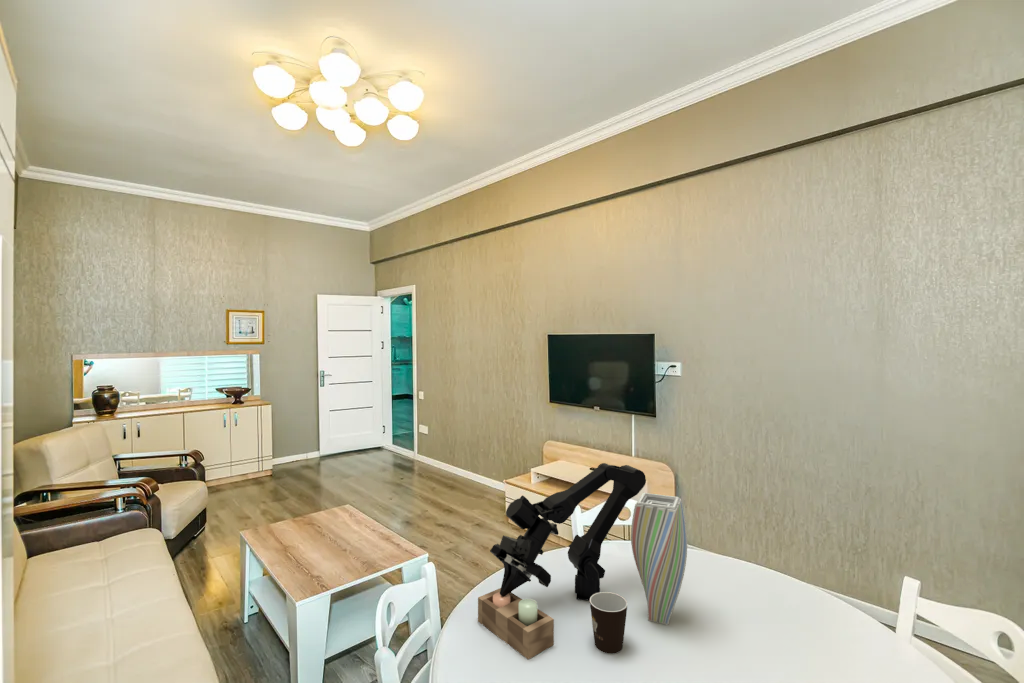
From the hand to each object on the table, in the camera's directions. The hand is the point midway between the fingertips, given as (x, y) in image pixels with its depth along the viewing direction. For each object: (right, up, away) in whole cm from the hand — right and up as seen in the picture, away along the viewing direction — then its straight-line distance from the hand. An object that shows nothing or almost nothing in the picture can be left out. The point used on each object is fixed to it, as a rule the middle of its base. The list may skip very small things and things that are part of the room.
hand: (501, 595), depth 118 cm
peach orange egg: (0, -5, 0) cm, 5 cm away
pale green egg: (+6, -3, -8) cm, 10 cm away
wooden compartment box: (+3, -7, -4) cm, 9 cm away
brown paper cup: (+25, -7, -7) cm, 27 cm away
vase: (+40, -7, +2) cm, 41 cm away
